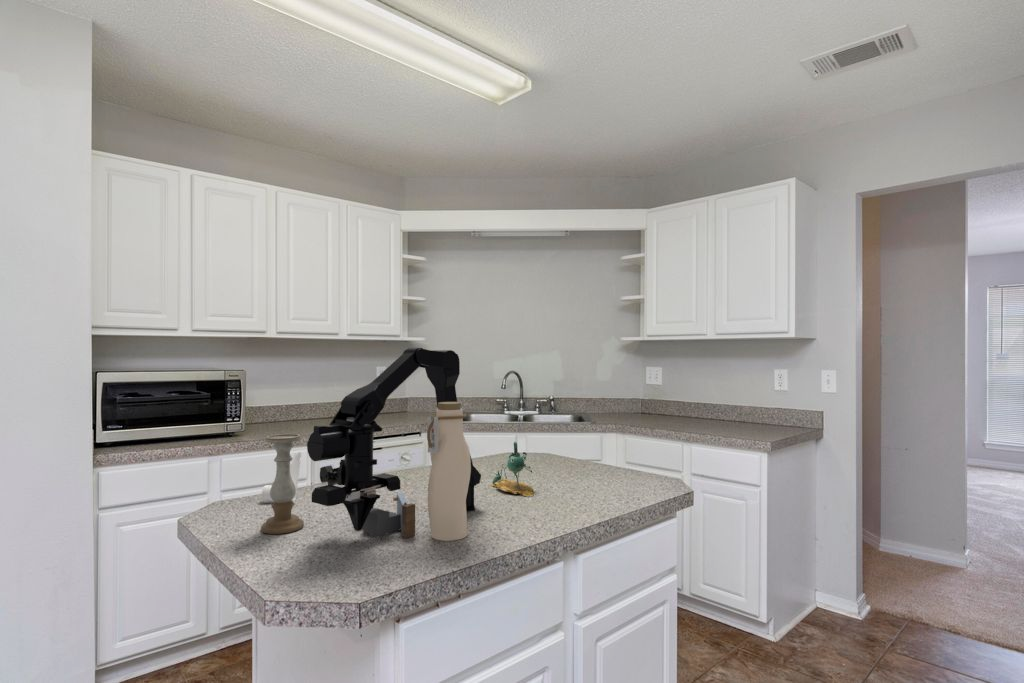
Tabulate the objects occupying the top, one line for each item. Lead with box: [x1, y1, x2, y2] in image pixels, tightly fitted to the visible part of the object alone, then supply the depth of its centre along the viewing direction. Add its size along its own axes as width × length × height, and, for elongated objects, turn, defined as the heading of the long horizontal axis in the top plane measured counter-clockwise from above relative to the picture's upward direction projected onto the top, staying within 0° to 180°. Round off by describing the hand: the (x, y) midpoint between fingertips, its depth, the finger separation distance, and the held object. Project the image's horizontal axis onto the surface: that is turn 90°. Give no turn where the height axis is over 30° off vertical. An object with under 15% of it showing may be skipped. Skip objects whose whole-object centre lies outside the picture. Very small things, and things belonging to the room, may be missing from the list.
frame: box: [363, 502, 416, 539], centre depth 121 cm, size 16×2×7 cm, turn 54°
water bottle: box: [426, 401, 472, 542], centre depth 117 cm, size 10×9×28 cm
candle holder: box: [260, 433, 305, 535], centre depth 122 cm, size 9×9×20 cm
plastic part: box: [261, 451, 303, 504], centre depth 147 cm, size 8×10×12 cm
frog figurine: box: [491, 441, 535, 498], centre depth 156 cm, size 10×18×15 cm, turn 31°
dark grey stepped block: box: [363, 507, 401, 537], centre depth 120 cm, size 5×6×5 cm
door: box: [392, 491, 409, 532], centre depth 123 cm, size 11×2×6 cm, turn 18°
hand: (357, 530), depth 115 cm, fingers closed
